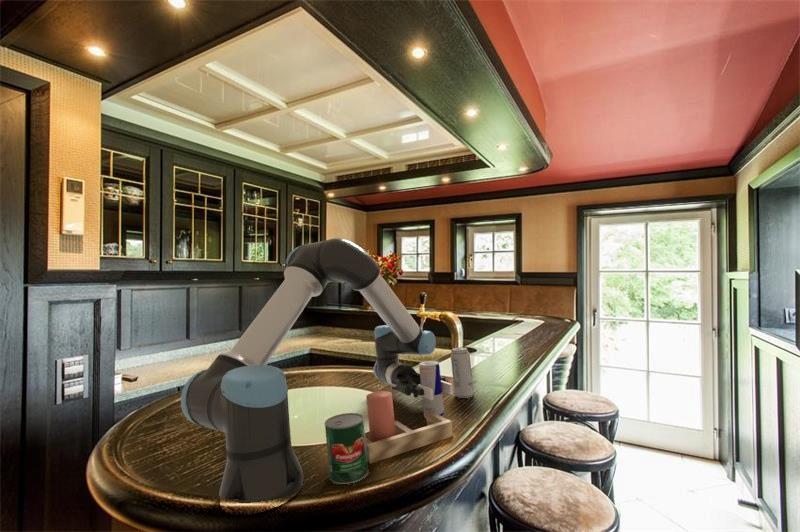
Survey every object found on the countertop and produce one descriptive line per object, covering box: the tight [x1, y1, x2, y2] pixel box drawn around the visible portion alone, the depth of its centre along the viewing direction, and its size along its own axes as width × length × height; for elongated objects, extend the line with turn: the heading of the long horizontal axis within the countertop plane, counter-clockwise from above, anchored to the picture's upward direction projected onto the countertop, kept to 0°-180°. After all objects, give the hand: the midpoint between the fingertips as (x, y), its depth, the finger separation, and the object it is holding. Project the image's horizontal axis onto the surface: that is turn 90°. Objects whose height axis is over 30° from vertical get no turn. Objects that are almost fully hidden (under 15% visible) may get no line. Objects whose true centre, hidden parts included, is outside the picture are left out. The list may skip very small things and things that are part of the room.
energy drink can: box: [450, 346, 475, 399], centre depth 119 cm, size 6×6×15 cm
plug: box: [365, 390, 396, 443], centre depth 87 cm, size 6×6×12 cm
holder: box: [365, 411, 454, 464], centre depth 89 cm, size 22×10×4 cm, turn 117°
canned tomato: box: [324, 412, 369, 485], centre depth 76 cm, size 8×8×11 cm
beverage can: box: [418, 360, 445, 420], centre depth 103 cm, size 6×6×15 cm
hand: (441, 391), depth 98 cm, fingers closed on beverage can, 5 cm apart
